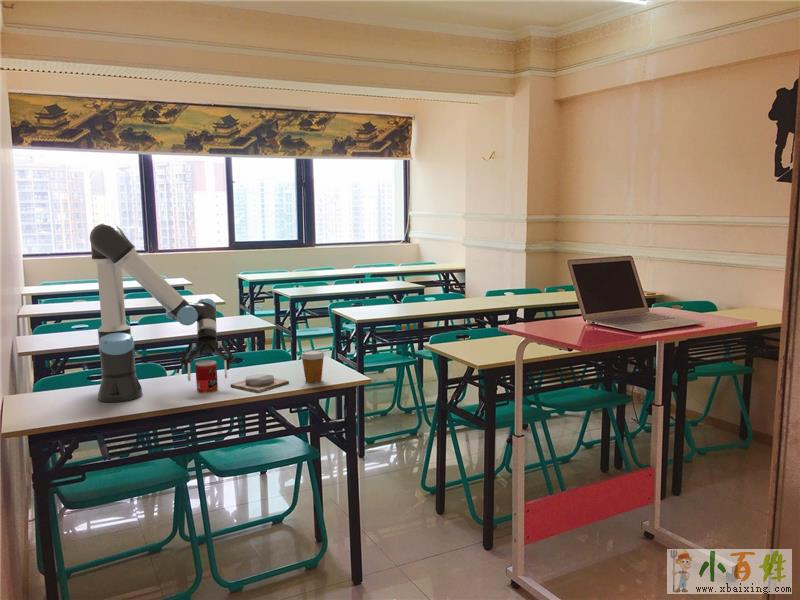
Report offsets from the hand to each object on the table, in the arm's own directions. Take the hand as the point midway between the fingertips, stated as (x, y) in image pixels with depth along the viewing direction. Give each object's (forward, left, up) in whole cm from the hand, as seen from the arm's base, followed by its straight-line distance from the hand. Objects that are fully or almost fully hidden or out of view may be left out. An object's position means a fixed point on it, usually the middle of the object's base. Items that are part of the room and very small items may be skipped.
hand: (207, 377), depth 241 cm
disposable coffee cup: (+25, +33, -5) cm, 41 cm away
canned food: (-1, +1, -5) cm, 6 cm away
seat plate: (+11, +17, -5) cm, 20 cm away
